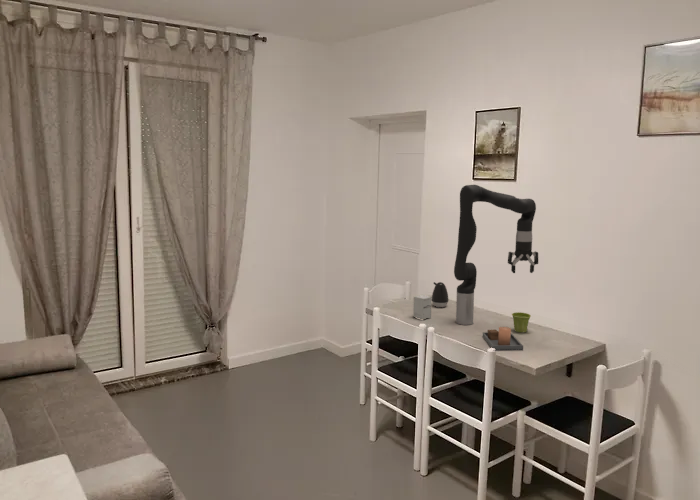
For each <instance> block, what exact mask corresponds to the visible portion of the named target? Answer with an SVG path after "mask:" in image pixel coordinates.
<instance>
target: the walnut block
mask: <svg viewBox="0 0 700 500" xmlns="http://www.w3.org/2000/svg"><path fill="white" fill-rule="evenodd" d="M487 332H488V338H489V339H490V340H498V334H499V330H497V329H487Z"/></svg>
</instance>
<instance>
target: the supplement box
mask: <svg viewBox="0 0 700 500" xmlns="http://www.w3.org/2000/svg"><path fill="white" fill-rule="evenodd" d="M412 315H413V316H414V317H417V318H420V319H425V318H430V317H431V318H432V296H430V295H429V296H428V295H425V294H420V295H415V296H413V314H412ZM413 316H412V317H413ZM431 318H430V319H431Z"/></svg>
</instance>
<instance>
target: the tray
mask: <svg viewBox="0 0 700 500" xmlns="http://www.w3.org/2000/svg"><path fill="white" fill-rule="evenodd" d="M481 335H482V338H483V340H484V341H485V342H486V343H487V344H488V346H489V347H490V348H491V347H492V348H495V349H496V350H495V351H524V345H523V344H522V343H521V341H519V340H518V338H517V337H515V335H513V334H512V332H511V339H510V345H498V340H490V339H489V338H488V331H487V332H486V331H485V332H482V334H481Z"/></svg>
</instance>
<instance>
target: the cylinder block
mask: <svg viewBox="0 0 700 500" xmlns="http://www.w3.org/2000/svg"><path fill="white" fill-rule="evenodd" d="M498 332H499V334H498V345H510V339H511V333H512V328H511V327H508V326H499V327H498Z"/></svg>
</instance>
